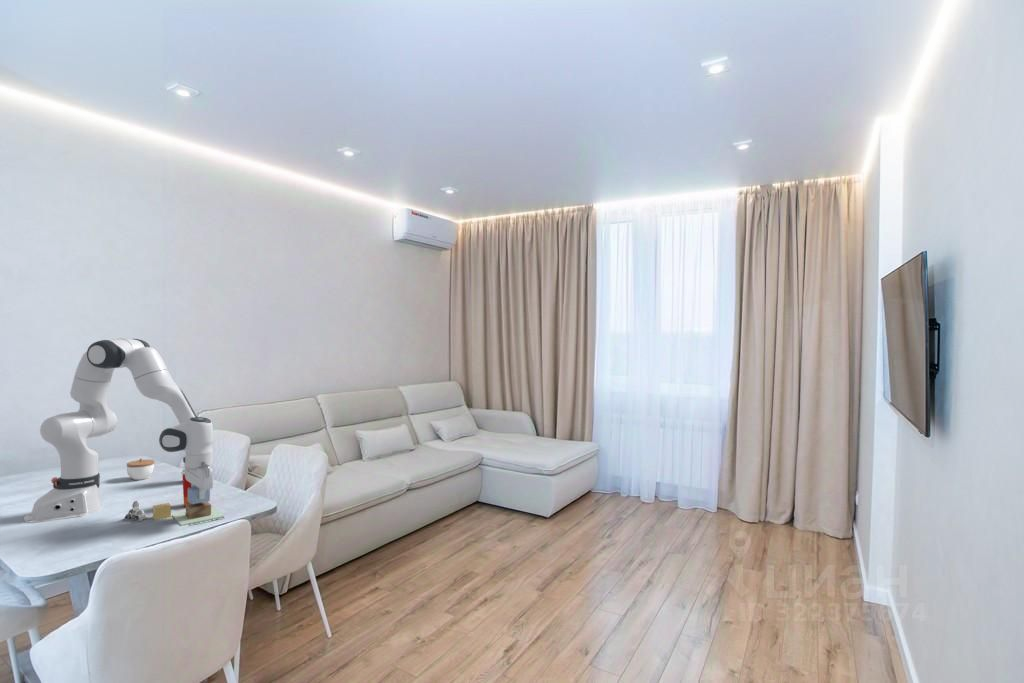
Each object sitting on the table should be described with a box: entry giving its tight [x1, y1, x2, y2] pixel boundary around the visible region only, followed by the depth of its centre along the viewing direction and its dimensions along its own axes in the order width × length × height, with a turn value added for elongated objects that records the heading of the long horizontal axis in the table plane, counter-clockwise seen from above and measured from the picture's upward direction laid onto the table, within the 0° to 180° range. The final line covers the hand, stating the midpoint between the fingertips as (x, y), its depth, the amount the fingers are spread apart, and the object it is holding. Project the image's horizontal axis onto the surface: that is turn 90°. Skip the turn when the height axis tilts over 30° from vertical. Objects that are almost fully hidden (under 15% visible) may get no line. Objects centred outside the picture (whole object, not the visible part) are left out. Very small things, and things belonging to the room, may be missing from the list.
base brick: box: [185, 501, 212, 519], centre depth 191 cm, size 7×6×4 cm
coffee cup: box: [180, 468, 192, 507], centre depth 205 cm, size 8×8×15 cm
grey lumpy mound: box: [122, 500, 148, 522], centre depth 189 cm, size 9×9×8 cm
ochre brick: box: [152, 502, 172, 521], centre depth 190 cm, size 5×4×5 cm
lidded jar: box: [126, 458, 155, 481], centre depth 240 cm, size 11×11×9 cm
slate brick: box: [187, 487, 211, 504], centre depth 191 cm, size 6×5×5 cm
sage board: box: [171, 506, 225, 526], centre depth 191 cm, size 14×14×1 cm
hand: (198, 496), depth 191 cm, fingers closed on slate brick, 5 cm apart
